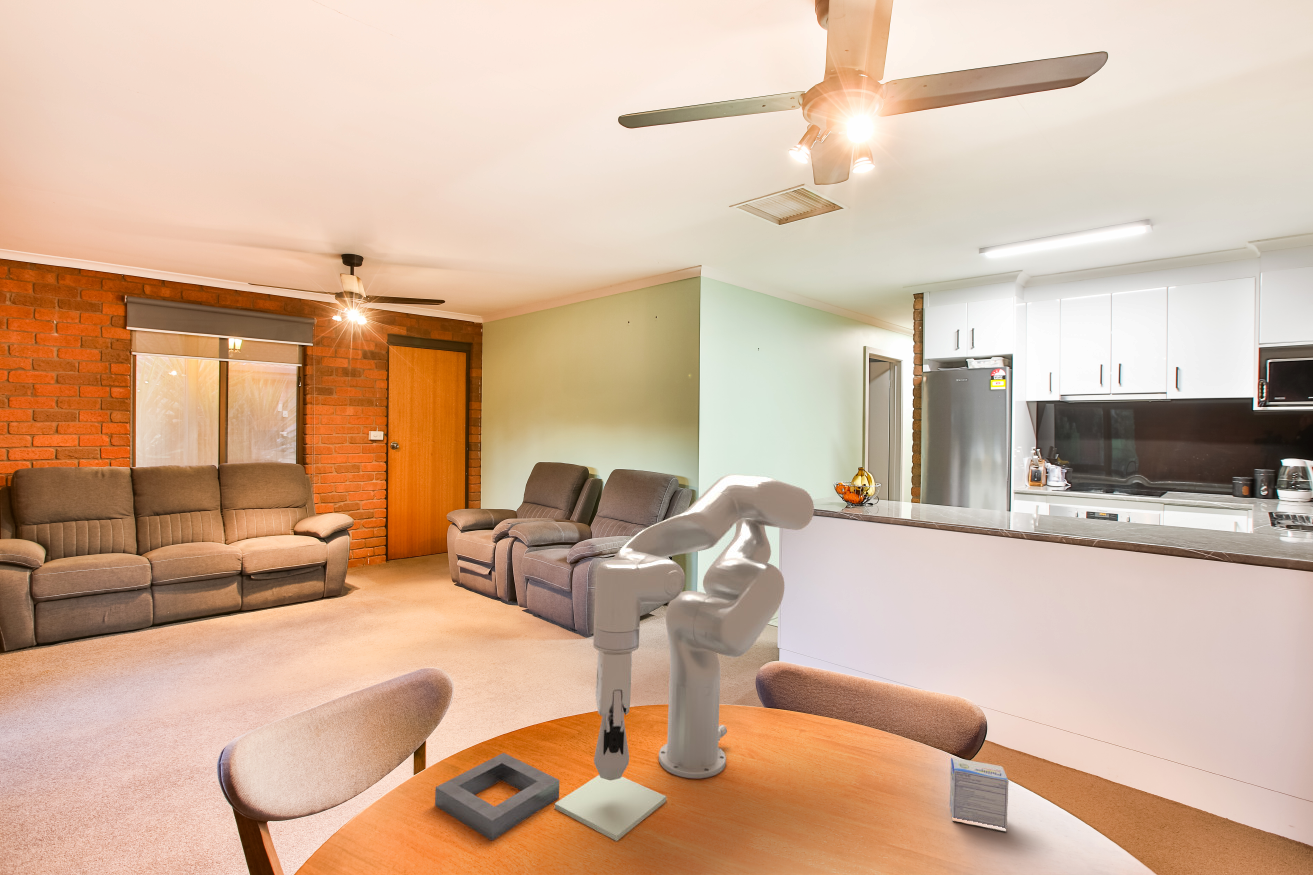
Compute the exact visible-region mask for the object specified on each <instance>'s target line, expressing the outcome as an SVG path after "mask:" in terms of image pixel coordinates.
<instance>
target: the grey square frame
mask: <svg viewBox="0 0 1313 875" xmlns="http://www.w3.org/2000/svg"><path fill="white" fill-rule="evenodd" d="M501 781H502V782H504V783H506V784H508V785H509V786H512V787H513V788H515V789H517V790H519V791H518V792H517V793H516V794H513V795H511V797H509V798H507V799H505V800H504V801H502V802H500V803H498V804H496V805H493V804H492V803H490V802H488V801H485V800H484V799H482V798H480V797H478V796H477V794H480V793H481V792H482V791H485V790H486V789H488V788H490V787H492V786H493V785H495V784H498V783H499V782H501ZM434 794H435V798H434V800H435V801H434V806H435V807H436V808H438V809H440V810H441V811H443V812H444V813H446V814H447V815H449V816H451V817H453V818H454V819H455V820H457V821H459V822H460V823H463V824H464V825H465V826H467V827H468V828H470V829H472V830H474V831H475V832H477V833H478V834H480V835H482V836H483V837H485V838H486V839H488V840H489V841H494V840H495V839H498V837H500V836H502V835H504V834H505V833H507V832H508V831H510V830H511V829H513V828H514V827H515V826H517V825H519V824H521V823H522V822H523V821H525V820H527V819H528V818H530V817H532V816H533V815H535V814H537V813H538V812H540V811H541V810H543V809H544V808H546V807H547V806H549V805H550V804H553V802H555V801H556V800H558V799H560V779H558V778H556V777H555V776H552V775H550V774H548V773H546V772H544V771H542V770H540V769H537V768H536V767H534V766H532V765H529V764H528V763H526V762H523V761H522V760H520V759H517V758H516V757H513V756H512V755H509V754H507V753H505V752H502V753H500V754H499V755H497V756H494V757H492V758H491V759H489V760H487V761H485V762H483V763H481V764H479V765H476V766H474V767H473V768H471V769H469V770H467V771H464V772H463V773H461V774H459V775H457V776H454V777H453V778H451V779H449V780H447V781H445V782H443V783H441V784H439V785H437V786H435V792H434Z"/></svg>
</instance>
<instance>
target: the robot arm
mask: <svg viewBox="0 0 1313 875" xmlns="http://www.w3.org/2000/svg"><path fill="white" fill-rule="evenodd" d="M814 511H815V504H814V501H813V498H812V496H811V494H810V493H808V491H807V490H805V489H803V488H802V487H799V486H796V485H792V484H790V483H786V482H783V481H781V480H778V479H777V480H776V479H774V478H771V477H766V476H759V475H758V476H757V475H747V474H746V475H745V474H726V475H724V476H721V477H720V478H719V479H717V480H716V481H715V482H714V483H713V484H712V485H711V486H710V487H709V488H707V490H706V491H704V493H703V494H702V495H700V496H699V497H698V498H697V499H696V500H695V501H694V502H693V503H692V504H691V505H690V506H689V507H688V508H687V509H686V510H685V511H683V512H681V513H680V514H677V515H674V516H671V517H669V518H666V519H665V520H662V521H660V522H657V523H655V524H653V525H650V526H648V527H647V528H645V529H643V530H641V531H639V532H638V533H637V534H636V535H634V536H633V537H632V538H631V539H629V541H627V542H626V543H625V544H624V545H623V546H622V547H621V548H619V550H618V551H617V552H616V553H615V554H614V557H613V559H609V560H604V561H602V562H600V563H599V564H598V565H597V567H596V569H595V570H596V571H595V586H594V587H595V589H594V592H595V593H594V613H593V615H594V616H593V620H594V621H593V638H592V639H593V642H592V646H593V648H594V649H596V651H598V652H597V662H596V663H597V664H596V666H597V668H596V684H595V700H596V707H597V713H598V714H599V716H601V717H602V716H603V715H606V730H604V746H603V754H604V755H605V753H606V751H607V749H608V747H609V751H610V753H617V752H618V751H619V749H620V752H621V754H622V755H623V748H624V729H623V728H624V723H625V716H627V715H628V714H629V713H630V707H631V690H632V689H631V688H632V667H633V664H632V662H633V660H632V659H633V657H632V656H633V652H635V651H636V650H638V649H639V647H640V626H641V625H640V624H641V623H640V622H641V620H640V619H641V605H643V604H666V603H668V604H667V608H666V612H665V626H666V633H667V638H668V647H669V677H668V678H669V680H668V681H669V682H668V711H667V712H668V714H667V743H665V744H664V745H662V746H661V748H660V749H659V751H658V761H659V762H658V763H659V764H660V766H661V767H662V768H663V769H664V770H666V771H667V772H668V773H670V774H672V775H675V776H677V777H681V778H687V779H705V778H710V777H713V776H716V775H717V774H719V773H721V772H722V771H723V770H724V769H725V767H726V765H727V763H726V762H727V756H726V753H725V752H724V751H723V750H722V748H721V747H719V742H720V741H721V738H722V737H724V736H725V735H726V734H727V733H728V730H727V726H725V725H724V724H720V723H719V722H720V699H721V698H720V695H721V692H720V691H721V664H720V659H719V655H718V654H720V655H722V656H725V657H730V658H738V657H741V656H743V655H745V654H746V653H747V652H748V651H749V650H750V649H751V648H752V647H753V645H754V644H755V642H756V641H757V640H758V638H760V635H761V634H762V633H763V632H764V630H765V628H766V627H767V626H768V624H769V623H770V622H771V620H772V618H774V615H775V614H776V613H777V611H778V610H779V608H780V606H781V604H782V600H783V598H784V594H785V579H784V575H783V573H782V572H781V571H780V569H779V568H778V567H776V566H775V565H774V564H771V563H768V562H769V561H770V559H771V555H772V550H771V549H772V548H771V544H770V542H769V539H768V536H767V531H766V528H765V527H772V528H780V529H785V530H792V531H793V530H794V531H799V530H802V529H804V528H806V527H807V526H808V525H809V524H810V523H811V521H812V520H813V517H814V514H815V512H814ZM734 526H735V534H734V536H733V538H732V539H731V540H730V541H729V543H728V545H727V546H726V547H725V548H724V549H723V550H722V552H721V553H720V554H719V555H718V556H717V558H716V559H715V560H714V561H713V562H712V564H711V565H710V566H709V567H708V568H707V571H706V572H705V573H704V576H703V580H702V587H703V590H704V592H701V591H697V590H684V588H685V583H686V575H685V572H684V569H683V568H682V567H681V565H680V564H679V563H677V562H676V561H674V560H672V559H670V558H669V557H672V556H676V555H682V554H691V553H697V552H702V551H706V550H709V549H712V548H713V547H715V546H716V545H717V544H718V543H719V542H720V541H721V540H722V539H723V538H724V537H725V535H726V534H728V532H730V530H731V529H732V528H734ZM683 590H684V591H683ZM609 709H613V711H609ZM610 717H613V719H611V720H610Z"/></svg>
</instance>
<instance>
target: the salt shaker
mask: <svg viewBox="0 0 1313 875" xmlns="http://www.w3.org/2000/svg"><path fill="white" fill-rule="evenodd" d="M609 711H613V709H609ZM611 719H613V717H610V720H611ZM625 725H626V724H625V722H624V728H623V729H624V748H623V755H622V754H621V752H620V749H619V751H618V752H617V753H610V751H609V747H608V749H607V751H606V753H605V755H604V754H603V746H604V730H606V715H603V716H601V723H600V726H599V732H598V735H597V736H598V737H597V742H596V747H595V752H594V753H595V754H594V756H593V757H594V758H593V764H594V766H595V769H596V771H597V772H598V775H600V778H603V779H606V780H610V781H611V780H615V779H619V778H621V776H622V777H623V774H624V772H625V771H626V769H627V768H628V766H629V762H630V751H629V744H628V740H627V732H626V726H625Z"/></svg>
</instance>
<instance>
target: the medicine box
mask: <svg viewBox="0 0 1313 875" xmlns="http://www.w3.org/2000/svg"><path fill="white" fill-rule="evenodd" d="M1007 776H1008V775H1007V774H1006V771H1005V769H1004V767H1003V766H1001V765H997V764H991V763H986V762H980V761H974V760H968V759H962V758H957V757H951V758H950V776H949V777H950V780H949V781H950V782H949V808H950V807H951V810H950V814H951V813H952V816H951V818H952V817H953V818H957V819H962V820H967V821H973V822H978V823H982V824H987V825H993V826H998V827H1002V828H1005V829H1007V830H1008V806H1009V805H1008V803H1009V785H1010V784H1009V782H1010V781H1009V778H1008V777H1007Z"/></svg>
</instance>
